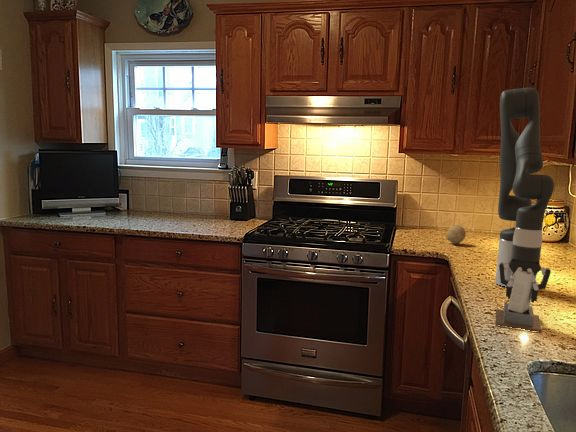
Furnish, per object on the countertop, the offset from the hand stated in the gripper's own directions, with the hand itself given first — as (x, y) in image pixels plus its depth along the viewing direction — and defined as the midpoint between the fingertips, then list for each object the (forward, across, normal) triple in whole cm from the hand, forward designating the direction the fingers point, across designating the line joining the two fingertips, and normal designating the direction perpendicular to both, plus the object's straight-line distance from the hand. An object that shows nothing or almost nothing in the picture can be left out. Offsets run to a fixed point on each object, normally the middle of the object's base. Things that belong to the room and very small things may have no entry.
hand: (520, 300), depth 151 cm
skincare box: (+3, 0, 0) cm, 3 cm away
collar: (+7, 0, 0) cm, 7 cm away
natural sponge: (+6, -27, +108) cm, 112 cm away
